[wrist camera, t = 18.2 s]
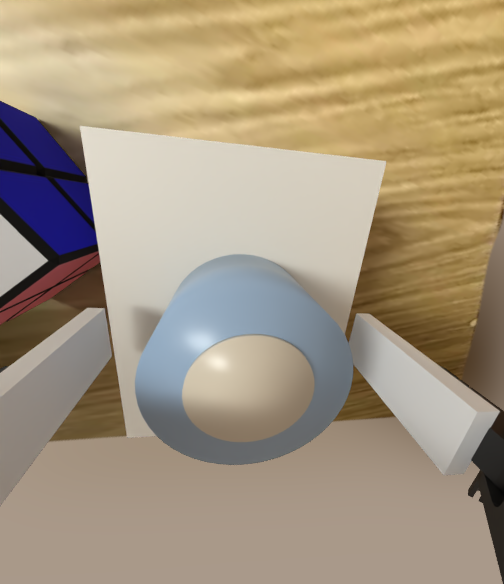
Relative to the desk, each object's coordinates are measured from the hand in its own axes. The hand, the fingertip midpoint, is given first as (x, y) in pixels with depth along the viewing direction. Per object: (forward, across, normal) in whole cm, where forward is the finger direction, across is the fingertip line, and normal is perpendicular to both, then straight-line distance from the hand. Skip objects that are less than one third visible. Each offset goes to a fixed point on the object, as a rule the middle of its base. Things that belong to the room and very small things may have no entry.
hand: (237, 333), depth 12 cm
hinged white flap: (+2, 0, 0) cm, 2 cm away
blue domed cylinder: (+1, 0, 0) cm, 1 cm away
